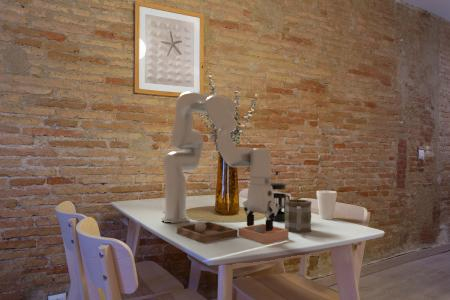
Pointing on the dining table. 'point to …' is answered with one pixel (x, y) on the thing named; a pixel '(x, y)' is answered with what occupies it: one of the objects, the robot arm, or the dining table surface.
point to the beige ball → (200, 227)
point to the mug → (298, 216)
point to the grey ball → (259, 229)
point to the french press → (279, 200)
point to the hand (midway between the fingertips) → (259, 228)
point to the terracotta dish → (263, 238)
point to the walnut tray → (208, 232)
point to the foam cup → (326, 204)
